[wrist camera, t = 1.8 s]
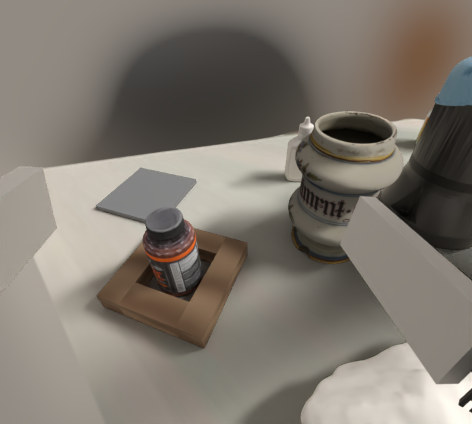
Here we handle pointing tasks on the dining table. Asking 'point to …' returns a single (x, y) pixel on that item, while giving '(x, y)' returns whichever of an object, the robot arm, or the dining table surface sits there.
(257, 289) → the dining table surface
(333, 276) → the dining table surface
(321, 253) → the apothecary jar
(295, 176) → the eye dropper bottle
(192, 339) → the pocket block
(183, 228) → the supplement bottle
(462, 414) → the crumpled cloth
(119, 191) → the mat
